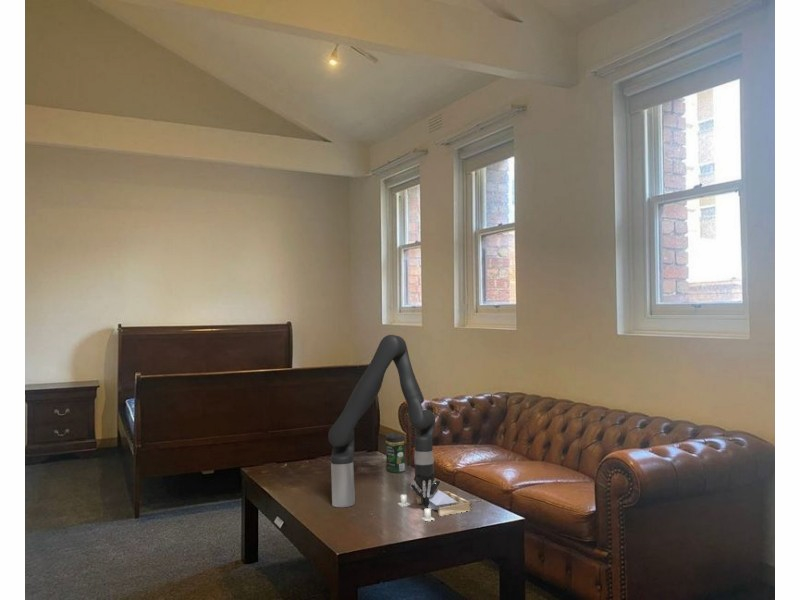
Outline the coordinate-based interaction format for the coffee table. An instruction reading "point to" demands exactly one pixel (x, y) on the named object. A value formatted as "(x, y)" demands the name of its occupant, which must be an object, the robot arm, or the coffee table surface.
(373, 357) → the robot arm
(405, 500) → the clip gate
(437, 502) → the wedge on round base
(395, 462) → the coffee jar
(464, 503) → the frame
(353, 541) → the coffee table surface
